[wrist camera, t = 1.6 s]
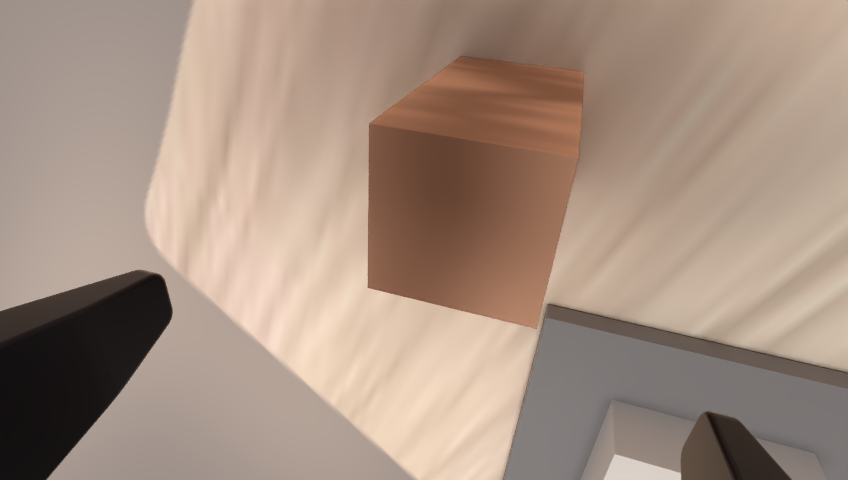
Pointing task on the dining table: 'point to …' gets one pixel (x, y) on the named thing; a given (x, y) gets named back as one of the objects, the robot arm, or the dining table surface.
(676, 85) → the dining table surface
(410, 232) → the peg
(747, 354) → the socket
